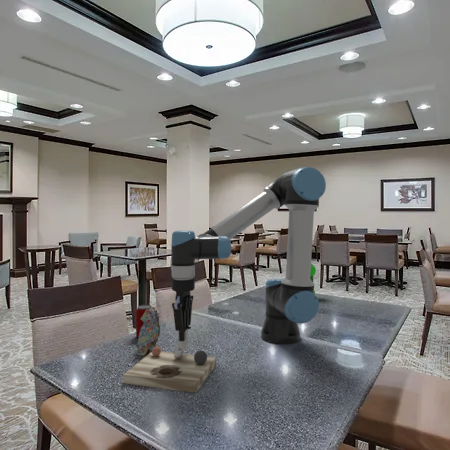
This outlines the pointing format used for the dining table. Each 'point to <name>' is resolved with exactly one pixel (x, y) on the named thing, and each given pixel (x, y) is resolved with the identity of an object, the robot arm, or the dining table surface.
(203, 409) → the dining table surface
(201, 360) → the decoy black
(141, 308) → the beverage can
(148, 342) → the figurine
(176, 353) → the steel ball
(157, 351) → the pink rubber ball
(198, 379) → the board
